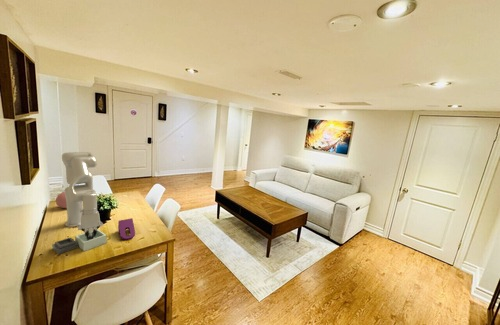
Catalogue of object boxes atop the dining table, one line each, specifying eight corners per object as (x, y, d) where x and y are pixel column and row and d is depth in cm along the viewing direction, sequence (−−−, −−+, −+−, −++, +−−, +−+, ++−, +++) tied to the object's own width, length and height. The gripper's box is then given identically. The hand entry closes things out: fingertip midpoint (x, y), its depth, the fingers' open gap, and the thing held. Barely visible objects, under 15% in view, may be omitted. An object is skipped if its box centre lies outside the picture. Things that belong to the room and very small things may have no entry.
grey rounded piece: (86, 242, 137) (85, 224, 135) (87, 239, 141) (86, 221, 139) (95, 241, 139) (94, 223, 138) (95, 237, 143) (95, 220, 142)
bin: (75, 244, 138) (75, 236, 137) (97, 236, 149) (97, 229, 149) (83, 251, 132) (83, 242, 131) (106, 242, 143) (106, 234, 142)
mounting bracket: (135, 243, 155) (131, 225, 167) (136, 236, 151) (132, 218, 163) (120, 246, 149) (118, 227, 161) (121, 239, 145) (118, 220, 157)
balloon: (83, 208, 194) (83, 192, 192) (54, 211, 182) (53, 195, 180) (84, 203, 206) (83, 188, 204) (57, 206, 194) (56, 190, 192)
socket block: (52, 248, 132) (52, 242, 131) (72, 242, 140) (71, 236, 139) (58, 254, 126) (57, 247, 126) (78, 247, 135) (77, 241, 134)
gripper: (73, 215, 129) (74, 241, 132) (105, 210, 139) (106, 235, 142) (74, 210, 135) (75, 236, 137) (104, 206, 145) (105, 230, 148)
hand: (91, 235), depth 140 cm, fingers closed on grey rounded piece, 3 cm apart
